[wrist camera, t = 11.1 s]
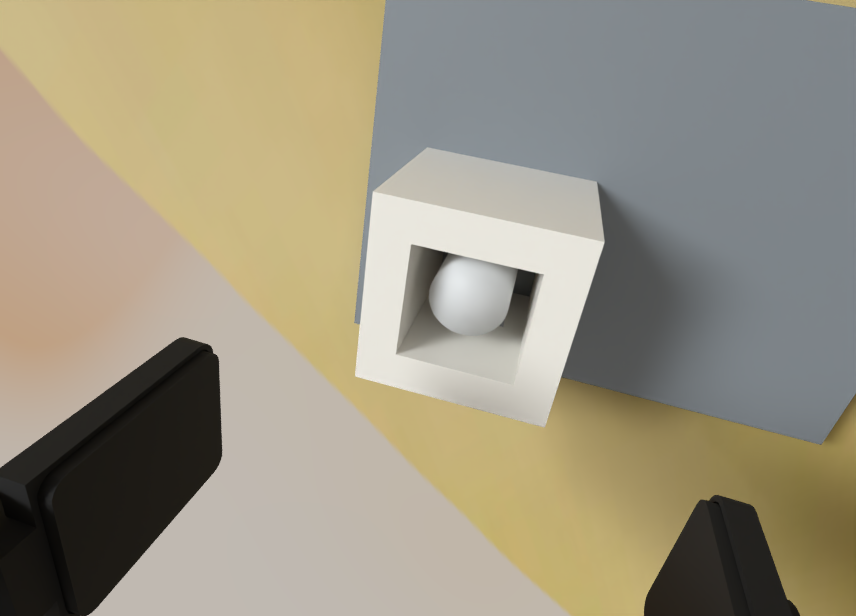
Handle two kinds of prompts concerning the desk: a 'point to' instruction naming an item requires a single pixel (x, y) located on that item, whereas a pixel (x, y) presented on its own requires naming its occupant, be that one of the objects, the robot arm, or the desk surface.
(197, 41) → the desk surface
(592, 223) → the white hollow cube
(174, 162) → the desk surface
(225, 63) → the desk surface
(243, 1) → the desk surface
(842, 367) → the post board
